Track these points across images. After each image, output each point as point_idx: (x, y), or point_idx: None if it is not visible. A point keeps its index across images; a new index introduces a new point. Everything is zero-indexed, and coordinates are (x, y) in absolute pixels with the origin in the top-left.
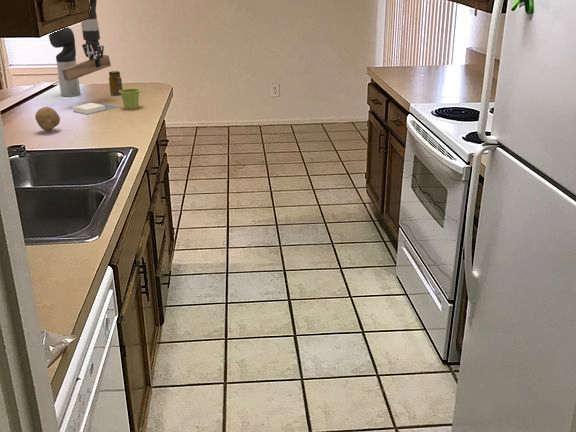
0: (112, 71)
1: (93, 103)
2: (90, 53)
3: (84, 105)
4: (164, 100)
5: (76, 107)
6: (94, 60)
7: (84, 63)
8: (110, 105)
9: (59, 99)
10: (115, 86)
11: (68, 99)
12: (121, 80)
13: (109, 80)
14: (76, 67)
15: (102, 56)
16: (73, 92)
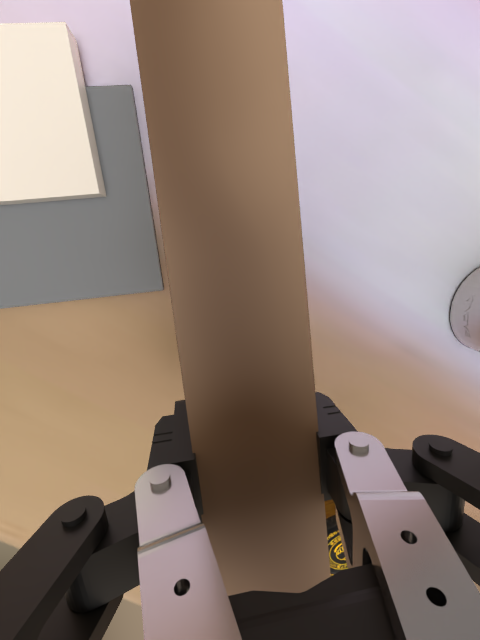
0: None
1: (62, 189)
2: (355, 527)
3: (44, 109)
4: (11, 541)
5: (19, 26)
6: (191, 440)
7: (187, 242)
8: (69, 296)
9: (459, 208)
10: None
11: (419, 240)
12: None
13: None
14: (135, 35)
15: (62, 601)
16: (468, 301)
